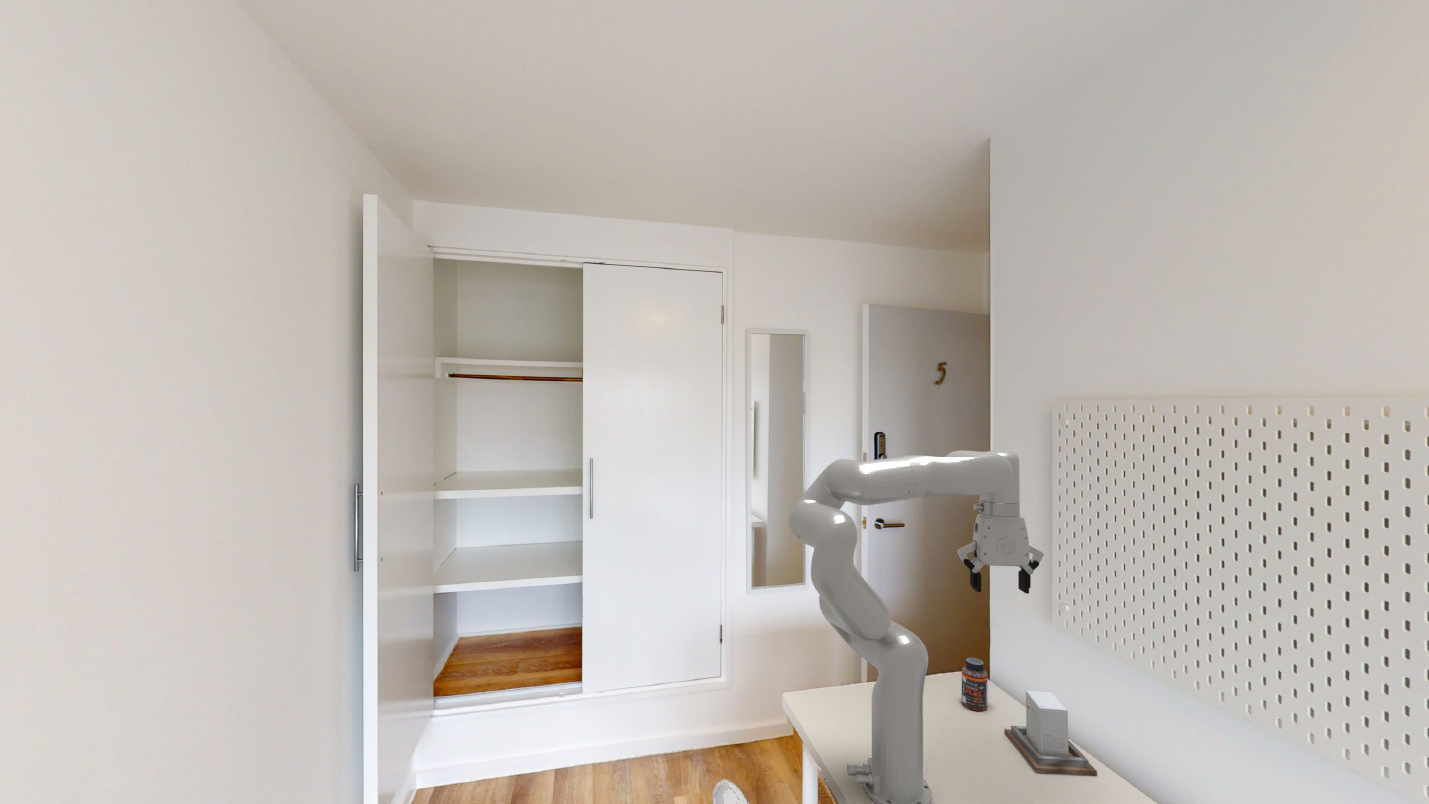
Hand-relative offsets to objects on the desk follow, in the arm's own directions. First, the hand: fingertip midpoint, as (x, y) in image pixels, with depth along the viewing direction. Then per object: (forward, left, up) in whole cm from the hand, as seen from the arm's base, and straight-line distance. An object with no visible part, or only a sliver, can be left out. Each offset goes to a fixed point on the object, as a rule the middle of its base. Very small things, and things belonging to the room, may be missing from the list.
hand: (1000, 590), depth 116 cm
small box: (+12, +5, -36) cm, 38 cm away
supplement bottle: (+4, +24, -36) cm, 44 cm away
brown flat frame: (+12, +5, -36) cm, 39 cm away
